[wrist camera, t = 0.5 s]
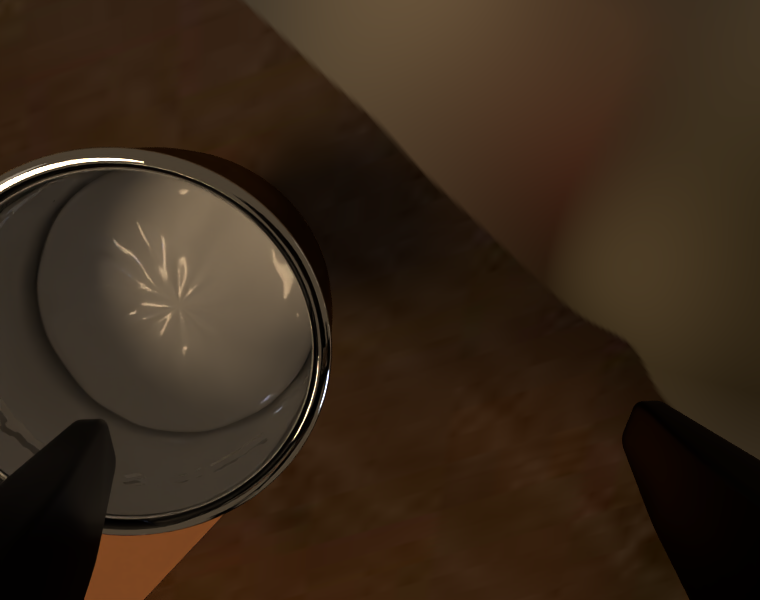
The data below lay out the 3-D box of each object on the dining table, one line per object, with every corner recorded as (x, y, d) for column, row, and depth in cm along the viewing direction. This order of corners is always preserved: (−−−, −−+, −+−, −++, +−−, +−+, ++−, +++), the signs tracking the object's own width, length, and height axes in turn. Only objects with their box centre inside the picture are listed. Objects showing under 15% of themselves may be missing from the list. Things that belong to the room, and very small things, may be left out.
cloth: (12, 736, 27) (8, 744, 26) (-307, 565, 23) (-317, 572, 23) (295, 433, 26) (295, 438, 25) (8, 206, 22) (3, 206, 22)
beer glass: (296, 151, 23) (293, 92, 9) (332, 311, 25) (380, 492, 10) (125, 184, 22) (-192, 182, 8) (172, 347, 24) (-19, 594, 9)
